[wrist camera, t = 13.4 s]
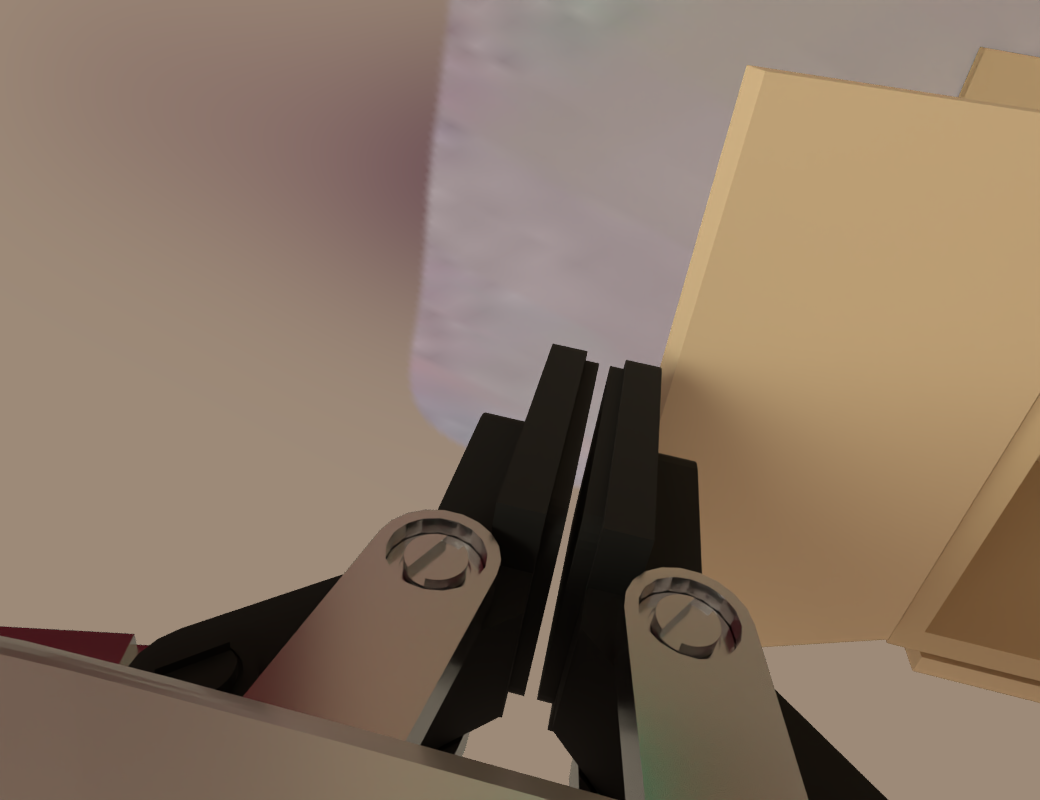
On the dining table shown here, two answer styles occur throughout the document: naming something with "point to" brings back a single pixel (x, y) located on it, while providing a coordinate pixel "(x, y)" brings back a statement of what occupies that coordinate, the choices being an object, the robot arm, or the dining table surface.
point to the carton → (989, 517)
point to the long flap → (852, 342)
